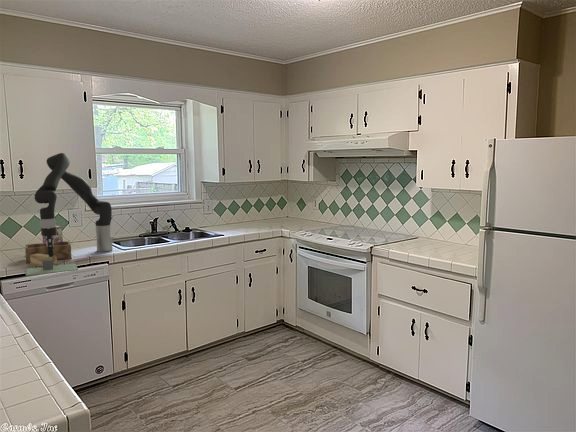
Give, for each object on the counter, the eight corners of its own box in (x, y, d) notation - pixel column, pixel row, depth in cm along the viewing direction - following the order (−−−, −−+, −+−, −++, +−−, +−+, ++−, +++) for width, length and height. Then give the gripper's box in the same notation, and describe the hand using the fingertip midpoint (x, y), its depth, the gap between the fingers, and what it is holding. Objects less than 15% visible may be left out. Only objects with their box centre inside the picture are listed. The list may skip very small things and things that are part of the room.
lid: (76, 265, 261) (75, 255, 261) (78, 271, 248) (77, 260, 248) (26, 270, 249) (25, 259, 249) (26, 276, 236) (25, 265, 236)
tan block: (36, 263, 265) (36, 253, 264) (57, 265, 259) (56, 255, 258) (30, 265, 261) (30, 254, 260) (51, 267, 255) (50, 257, 254)
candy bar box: (46, 253, 292) (44, 228, 290) (43, 252, 296) (41, 227, 293) (63, 250, 301) (62, 226, 299) (60, 249, 304) (58, 225, 302)
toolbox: (70, 254, 287) (69, 241, 286) (71, 259, 275) (70, 244, 274) (26, 258, 276) (25, 244, 274) (26, 263, 263) (25, 248, 262)
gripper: (40, 225, 252) (43, 253, 254) (40, 229, 240) (43, 258, 242) (55, 224, 256) (57, 251, 258) (56, 227, 243) (59, 256, 246)
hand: (50, 255), depth 250 cm, fingers open, 8 cm apart
